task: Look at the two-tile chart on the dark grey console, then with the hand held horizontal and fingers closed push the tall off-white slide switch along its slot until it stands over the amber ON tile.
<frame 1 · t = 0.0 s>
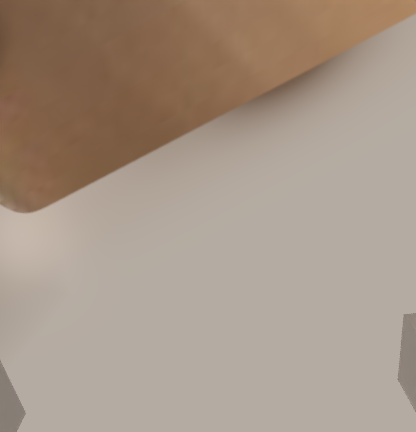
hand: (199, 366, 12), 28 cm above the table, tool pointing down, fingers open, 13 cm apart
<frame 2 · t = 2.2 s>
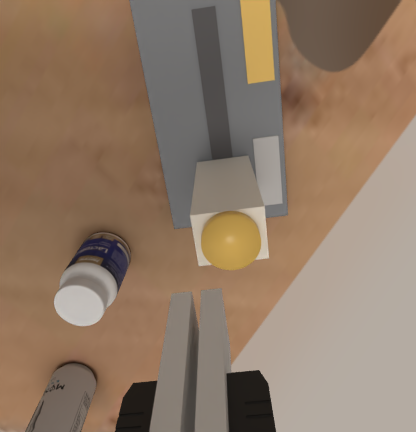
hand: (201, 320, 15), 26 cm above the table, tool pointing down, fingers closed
console: (216, 113, 37), on the table
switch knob: (227, 204, 31), point 9 cm above the table, slide at 0.0 cm
energy drink can: (76, 375, 52), on the table
pill bottle: (107, 251, 44), on the table
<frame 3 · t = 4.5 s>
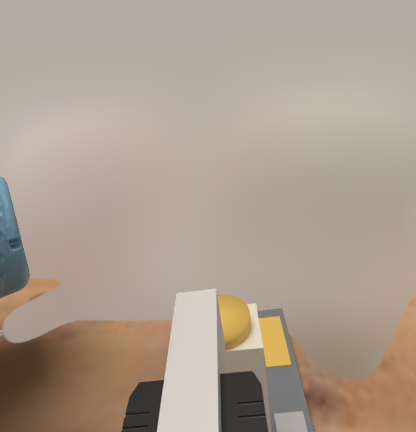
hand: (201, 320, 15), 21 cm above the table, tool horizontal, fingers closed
console: (237, 408, 35), on the table
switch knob: (229, 393, 26), point 9 cm above the table, slide at 0.0 cm
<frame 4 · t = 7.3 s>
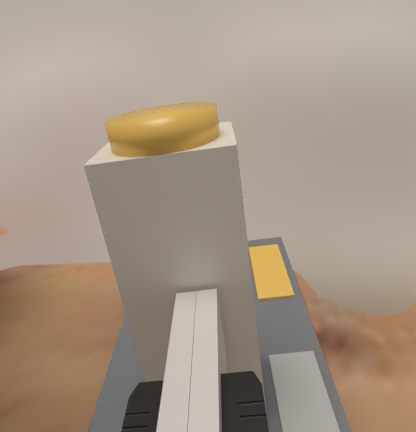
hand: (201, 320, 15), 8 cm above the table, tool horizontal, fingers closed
console: (216, 356, 24), on the table
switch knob: (190, 273, 16), point 9 cm above the table, slide at 1.7 cm, touching gripper
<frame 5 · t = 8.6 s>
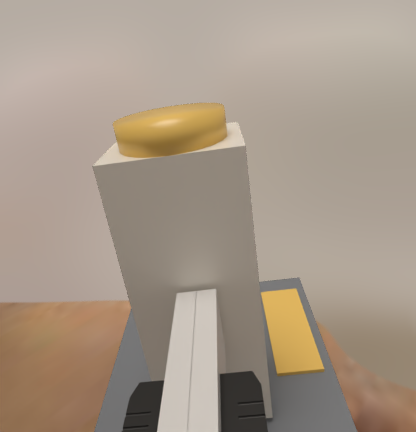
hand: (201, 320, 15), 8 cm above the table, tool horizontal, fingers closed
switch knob: (197, 273, 16), point 9 cm above the table, slide at 8.0 cm, touching gripper
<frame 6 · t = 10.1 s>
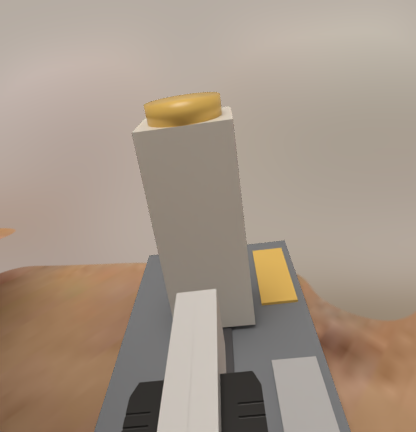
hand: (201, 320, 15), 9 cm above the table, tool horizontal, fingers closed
console: (220, 360, 24), on the table
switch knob: (200, 216, 23), point 9 cm above the table, slide at 8.4 cm
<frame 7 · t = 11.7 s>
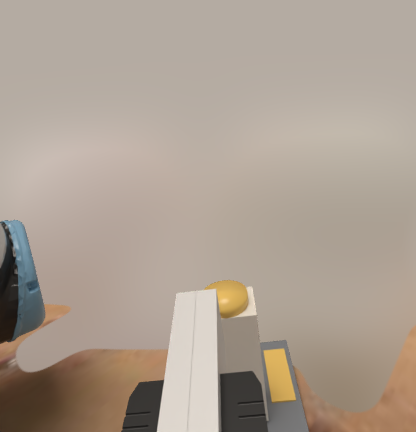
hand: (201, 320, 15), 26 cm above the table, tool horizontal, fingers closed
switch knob: (233, 353, 35), point 9 cm above the table, slide at 8.4 cm
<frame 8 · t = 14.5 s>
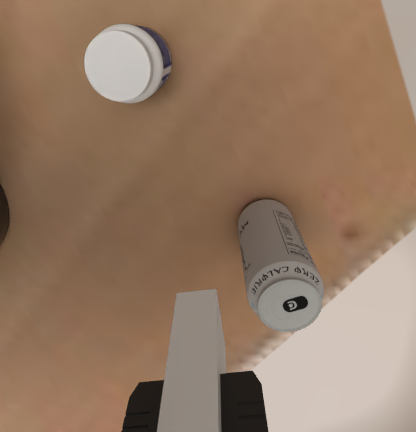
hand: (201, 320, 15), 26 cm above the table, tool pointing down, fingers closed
energy drink can: (264, 220, 42), on the table
pill bottle: (142, 61, 35), on the table
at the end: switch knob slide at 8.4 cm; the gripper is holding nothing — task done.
